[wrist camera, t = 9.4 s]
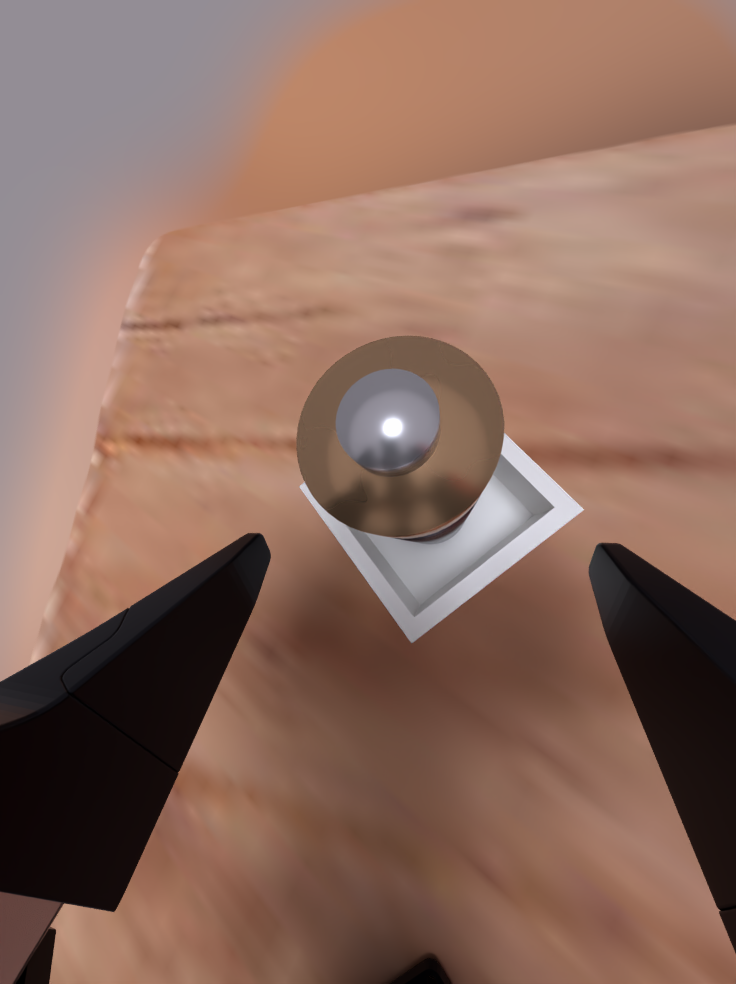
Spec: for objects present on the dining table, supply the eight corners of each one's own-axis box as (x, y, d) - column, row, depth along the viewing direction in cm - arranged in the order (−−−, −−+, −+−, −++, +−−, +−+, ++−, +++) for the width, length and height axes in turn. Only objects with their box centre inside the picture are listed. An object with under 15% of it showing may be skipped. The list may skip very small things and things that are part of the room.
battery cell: (450, 557, 18) (453, 577, 5) (380, 526, 19) (246, 482, 6) (479, 486, 18) (549, 340, 5) (409, 460, 19) (333, 295, 7)
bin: (419, 623, 18) (411, 643, 14) (326, 498, 21) (299, 486, 17) (553, 518, 17) (583, 509, 14) (439, 403, 20) (437, 368, 16)
